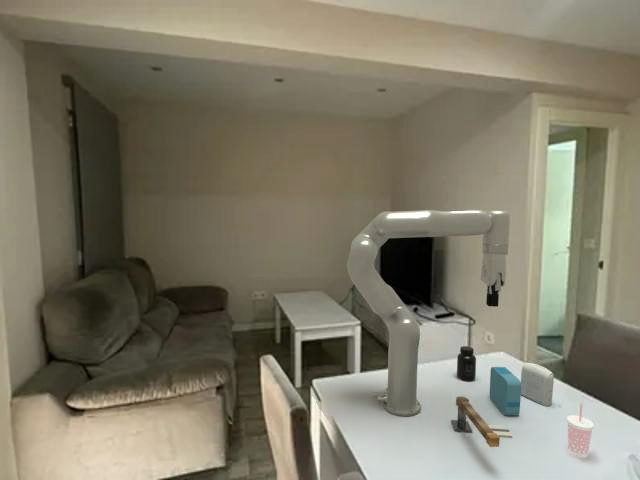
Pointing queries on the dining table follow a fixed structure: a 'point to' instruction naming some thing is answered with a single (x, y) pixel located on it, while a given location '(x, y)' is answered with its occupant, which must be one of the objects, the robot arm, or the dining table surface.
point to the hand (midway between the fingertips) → (492, 305)
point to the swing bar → (478, 422)
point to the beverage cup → (579, 434)
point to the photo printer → (537, 383)
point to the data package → (505, 390)
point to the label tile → (501, 431)
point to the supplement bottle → (466, 364)
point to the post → (461, 423)
